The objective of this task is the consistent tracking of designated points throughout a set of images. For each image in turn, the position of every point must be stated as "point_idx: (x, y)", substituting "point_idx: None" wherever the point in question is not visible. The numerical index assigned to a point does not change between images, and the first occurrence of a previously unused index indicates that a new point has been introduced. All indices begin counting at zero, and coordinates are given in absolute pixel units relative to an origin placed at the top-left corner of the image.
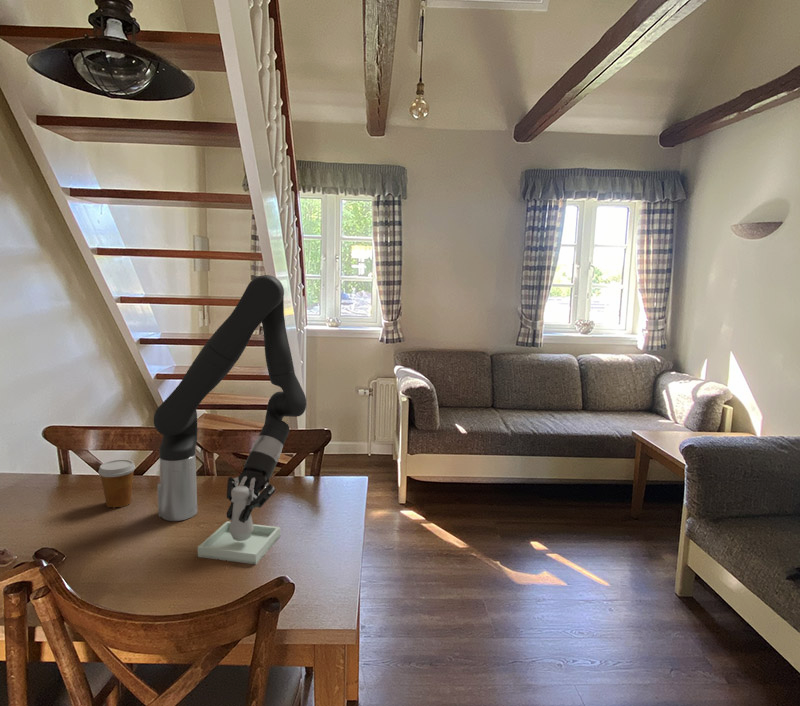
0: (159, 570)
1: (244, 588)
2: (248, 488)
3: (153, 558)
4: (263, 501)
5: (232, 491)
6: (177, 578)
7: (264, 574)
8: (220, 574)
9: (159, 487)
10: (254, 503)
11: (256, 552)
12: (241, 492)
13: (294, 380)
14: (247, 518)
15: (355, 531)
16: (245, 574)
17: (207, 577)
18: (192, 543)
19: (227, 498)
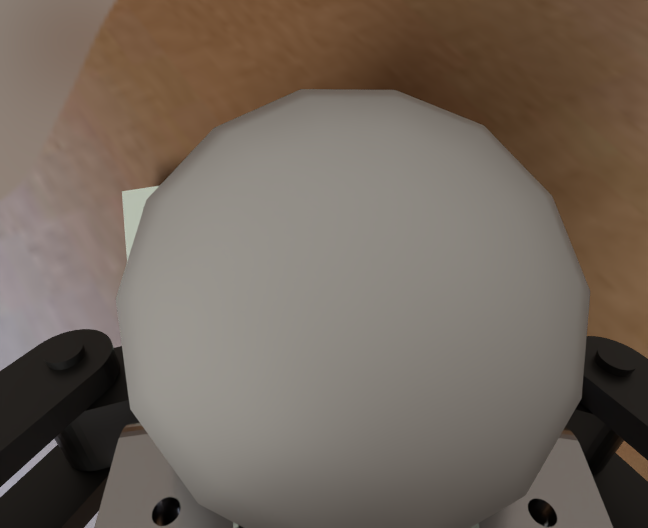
0: (518, 25)
1: (96, 45)
2: (179, 474)
3: (625, 83)
4: (19, 497)
5: (465, 119)
6: (403, 7)
7: (65, 157)
8: (256, 89)
9: None
10: (87, 333)
11: (130, 210)
12: (207, 150)
13: None
14: None
15: None
16: (150, 126)
17: (293, 53)
18: (582, 257)
19: (594, 336)
